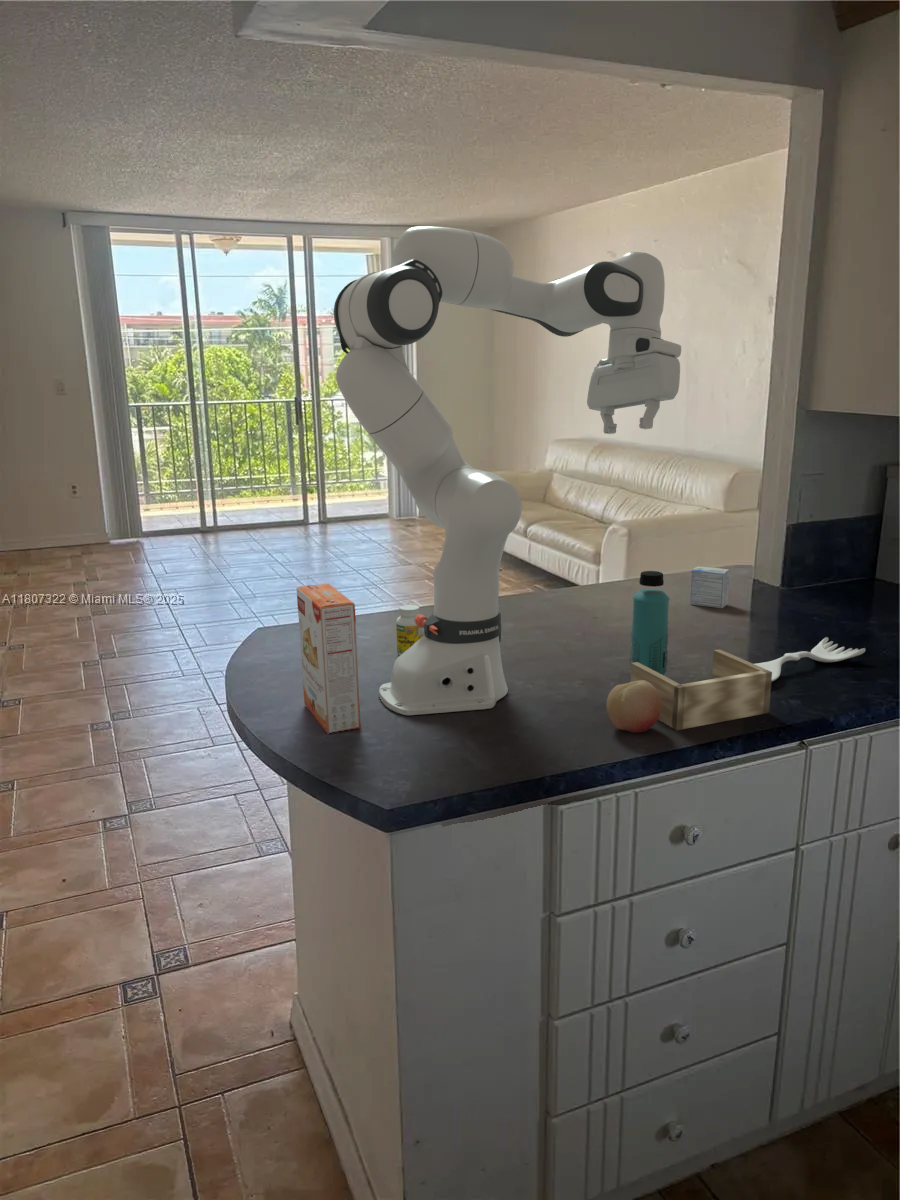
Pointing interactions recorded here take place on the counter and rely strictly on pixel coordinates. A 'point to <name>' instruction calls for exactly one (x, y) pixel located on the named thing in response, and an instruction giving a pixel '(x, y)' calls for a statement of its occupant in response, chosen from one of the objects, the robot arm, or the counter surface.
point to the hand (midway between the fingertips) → (627, 431)
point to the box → (711, 693)
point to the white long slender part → (812, 656)
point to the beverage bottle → (650, 624)
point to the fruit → (634, 706)
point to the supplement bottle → (407, 628)
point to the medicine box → (709, 587)
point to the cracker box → (329, 656)
